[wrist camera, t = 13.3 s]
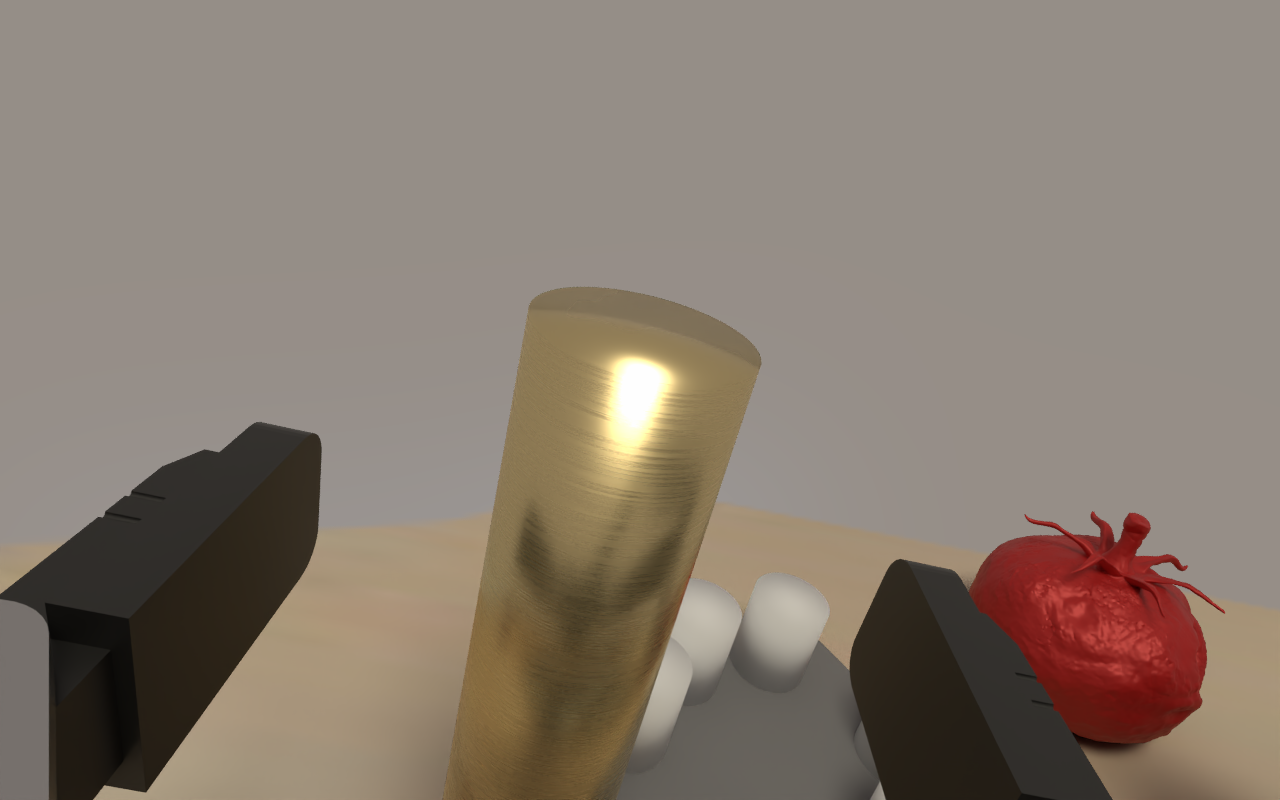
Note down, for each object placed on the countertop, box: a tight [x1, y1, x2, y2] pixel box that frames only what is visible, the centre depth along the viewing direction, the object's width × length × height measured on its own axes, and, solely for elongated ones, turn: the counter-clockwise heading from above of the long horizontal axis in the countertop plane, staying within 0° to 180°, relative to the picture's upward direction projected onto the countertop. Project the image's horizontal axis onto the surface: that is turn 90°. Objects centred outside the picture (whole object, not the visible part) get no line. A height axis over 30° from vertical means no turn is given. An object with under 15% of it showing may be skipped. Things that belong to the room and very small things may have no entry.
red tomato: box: [969, 512, 1225, 743], centre depth 32 cm, size 10×10×9 cm
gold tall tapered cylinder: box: [443, 287, 761, 800], centre depth 14 cm, size 5×5×17 cm
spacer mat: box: [616, 573, 886, 800], centre depth 25 cm, size 13×12×4 cm
